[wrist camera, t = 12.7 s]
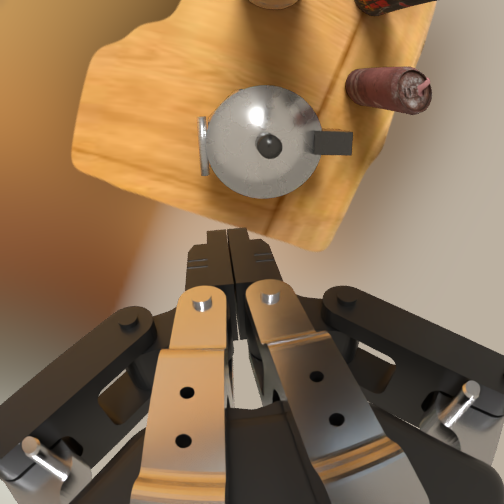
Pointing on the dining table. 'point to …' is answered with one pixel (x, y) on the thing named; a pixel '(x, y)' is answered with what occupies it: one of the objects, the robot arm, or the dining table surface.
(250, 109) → the lid
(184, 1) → the dining table surface
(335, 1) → the dining table surface
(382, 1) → the deodorant
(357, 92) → the can
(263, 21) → the dining table surface
